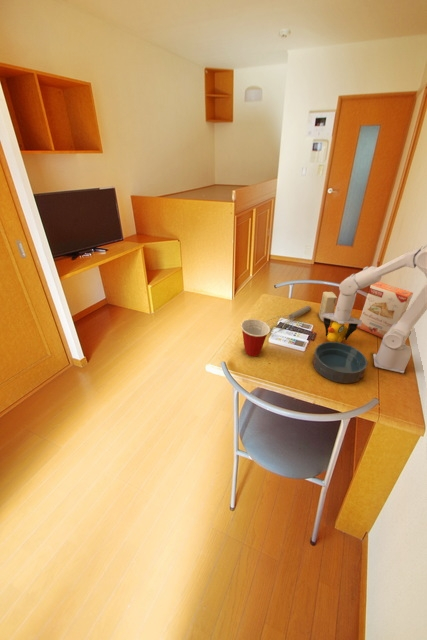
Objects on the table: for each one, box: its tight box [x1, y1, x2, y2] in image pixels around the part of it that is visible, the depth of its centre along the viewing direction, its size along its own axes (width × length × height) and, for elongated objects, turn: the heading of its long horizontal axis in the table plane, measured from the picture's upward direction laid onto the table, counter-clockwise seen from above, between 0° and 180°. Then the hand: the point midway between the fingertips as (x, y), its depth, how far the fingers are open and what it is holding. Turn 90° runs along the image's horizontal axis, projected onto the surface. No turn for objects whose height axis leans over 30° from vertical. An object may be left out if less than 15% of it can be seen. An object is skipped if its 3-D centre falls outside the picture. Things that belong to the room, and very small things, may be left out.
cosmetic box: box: [318, 291, 338, 322], centre depth 130 cm, size 6×4×12 cm
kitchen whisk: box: [265, 305, 312, 335], centre depth 129 cm, size 6×34×6 cm, turn 133°
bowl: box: [312, 341, 368, 384], centre depth 103 cm, size 17×17×5 cm
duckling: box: [326, 321, 348, 343], centre depth 115 cm, size 11×5×10 cm, turn 121°
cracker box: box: [357, 281, 414, 339], centre depth 118 cm, size 14×6×21 cm, turn 42°
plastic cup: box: [240, 318, 271, 357], centre depth 109 cm, size 11×11×12 cm
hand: (336, 336), depth 116 cm, fingers closed on duckling, 7 cm apart
